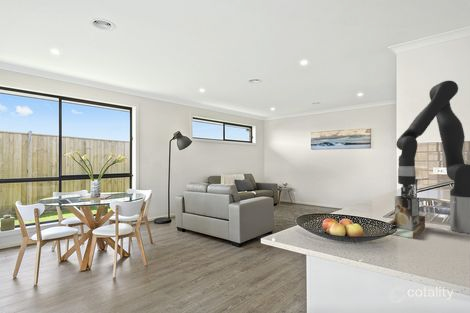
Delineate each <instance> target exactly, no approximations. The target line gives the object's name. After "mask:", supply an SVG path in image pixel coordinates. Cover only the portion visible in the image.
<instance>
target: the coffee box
mask: <svg viewBox="0 0 470 313" xmlns="http://www.w3.org/2000/svg"><path fill="white" fill-rule="evenodd" d="M404 197H406V196H404ZM419 215H420V198H419V197H414V196H412V197H408V208H404V207H402V199H401V195H397V196H394V219H395V226H396V227H395V226H394V227H395V228H398V229H402V230H407V231H414V230H415V229H416V228H417V227H418V225H419Z"/></svg>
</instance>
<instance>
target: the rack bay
mask: <svg viewBox="0 0 470 313" xmlns="http://www.w3.org/2000/svg"><path fill="white" fill-rule="evenodd" d="M388 223H389V224H392V225H395V218H393V219H392V220H390V221H389V222H388ZM425 228H426V216H425V215H420V214H419V225H418V227H417V228H416V229H415V230H414V231H412V230H407V229H402V228H396V229H397V232H396V233H395V234H393V235H392V236H396V237H402V238H407V239H413V240H417V239H418V237H419V236H420V234H422V232H423V231H424V229H425Z"/></svg>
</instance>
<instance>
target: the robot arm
mask: <svg viewBox="0 0 470 313" xmlns="http://www.w3.org/2000/svg"><path fill="white" fill-rule="evenodd" d="M458 91H459V85H458V84H457V83H456V82H455V81H453V80H444V81H441V82H439V83H437V84H435V85H434V86H433V87H432V88H431V89H430V90H429V94H428V95H429V99H430V101H429V103H428V104H427V105H426V106H425V107H424V108H423V109H422V110H421V111H420V112H419V113H418V114H417V116H416V117H415V118H414V119H413V121H412V122H411V123H410V125H409V126H408V127H407V129H406V130H404V132H403V133H402V134H401V135H400V136H399V138H398V139H397V140H396V148H397V149H398V150H400V151H401V154H400V155H399V156H398V169H397V183H398V184H399V185H402V186H401V187H400V196H401V199H402V207H404V208H408V197H413V185H416V183H417V182H416V156H417V151H418V141H417V138H419V137H420V136H422V135H423V134H424V133H425V132H426V130H427V129H428V127H430V124H431V123H432V122H433V120H434V119H435V118H436V121H437V125H438V126H437V127H438V130H439V136H440V139H441V144H442V148H443V152H444V157H445V166H446V174H447V177H448V178H449V179H450V180H451V181H453V187H452V189H450V190H449V191H450V192H449V213H450V214H449V216H450V217H449V218H450V219H449V220H450V222H449V227H450V230H452V231H453V232H458V233H465V234H470V164H466V163H465V160H464V159H465V158H464V156H463V149H464V145H465V137H466V136H465V131H464V127H463V124H462V122H461V120H460V119H459V118H458V116H457V115H456V113H455V112H454V111H453V109H452V107H451V102H450V101H451V100H452V99H453V98H454V97H455V96H457V93H458ZM404 196H406V197H404Z"/></svg>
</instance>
